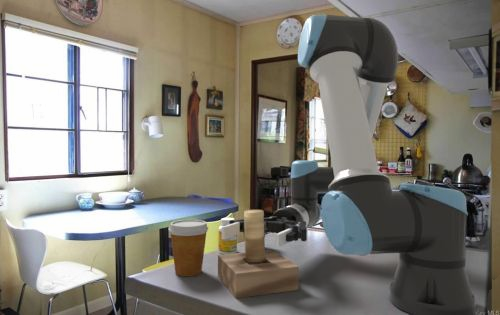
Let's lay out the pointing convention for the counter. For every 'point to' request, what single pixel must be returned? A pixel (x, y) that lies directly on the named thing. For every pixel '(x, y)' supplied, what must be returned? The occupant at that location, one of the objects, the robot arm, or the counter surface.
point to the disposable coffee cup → (188, 246)
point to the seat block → (257, 274)
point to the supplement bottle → (226, 240)
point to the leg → (254, 236)
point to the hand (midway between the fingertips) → (248, 236)
